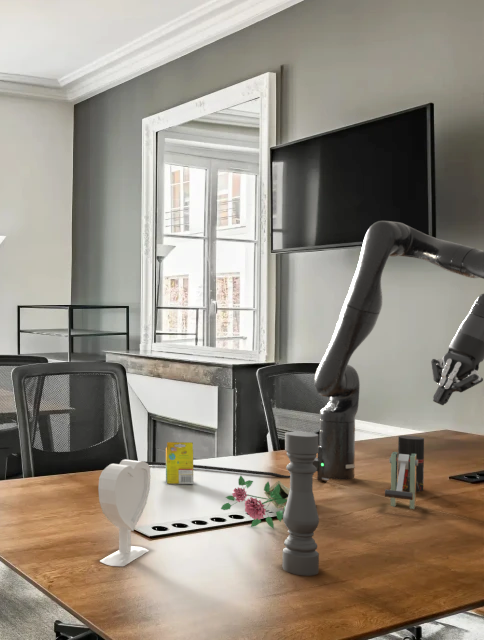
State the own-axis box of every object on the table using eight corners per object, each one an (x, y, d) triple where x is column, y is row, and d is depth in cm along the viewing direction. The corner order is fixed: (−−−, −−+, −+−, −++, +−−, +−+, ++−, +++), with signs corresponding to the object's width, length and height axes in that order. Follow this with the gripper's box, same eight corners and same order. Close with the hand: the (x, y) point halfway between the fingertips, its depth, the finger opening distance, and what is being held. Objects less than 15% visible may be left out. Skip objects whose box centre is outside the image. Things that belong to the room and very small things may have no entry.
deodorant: (426, 497, 192) (427, 439, 192) (401, 496, 193) (402, 438, 193) (418, 492, 198) (419, 436, 198) (394, 490, 199) (395, 435, 199)
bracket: (423, 518, 171) (423, 459, 171) (379, 512, 176) (380, 455, 176) (426, 509, 180) (426, 452, 179) (384, 504, 184) (385, 449, 184)
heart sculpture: (118, 569, 135) (119, 471, 135) (94, 563, 138) (94, 467, 138) (153, 548, 148) (154, 458, 148) (130, 543, 151) (131, 455, 151)
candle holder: (276, 564, 139) (277, 431, 138) (308, 563, 139) (309, 431, 139) (292, 575, 132) (293, 436, 132) (325, 575, 133) (326, 436, 133)
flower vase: (314, 542, 177) (263, 543, 150) (267, 518, 185) (210, 514, 158) (333, 497, 176) (286, 490, 150) (285, 474, 184) (232, 464, 158)
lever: (412, 502, 166) (412, 494, 165) (385, 499, 169) (384, 490, 168) (417, 463, 178) (417, 455, 177) (391, 460, 181) (391, 452, 180)
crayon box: (192, 482, 207) (192, 440, 207) (193, 484, 204) (194, 442, 204) (165, 481, 208) (165, 440, 208) (166, 483, 205) (166, 442, 205)
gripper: (440, 324, 177) (405, 388, 179) (490, 340, 165) (451, 408, 167) (460, 335, 180) (425, 398, 182) (510, 351, 168) (472, 418, 170)
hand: (438, 403), depth 174 cm, fingers closed
